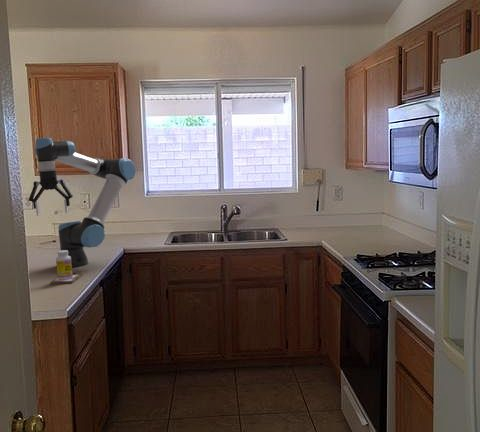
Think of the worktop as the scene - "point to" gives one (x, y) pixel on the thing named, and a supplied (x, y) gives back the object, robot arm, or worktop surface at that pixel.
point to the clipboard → (67, 281)
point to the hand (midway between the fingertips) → (52, 214)
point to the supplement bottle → (64, 265)
